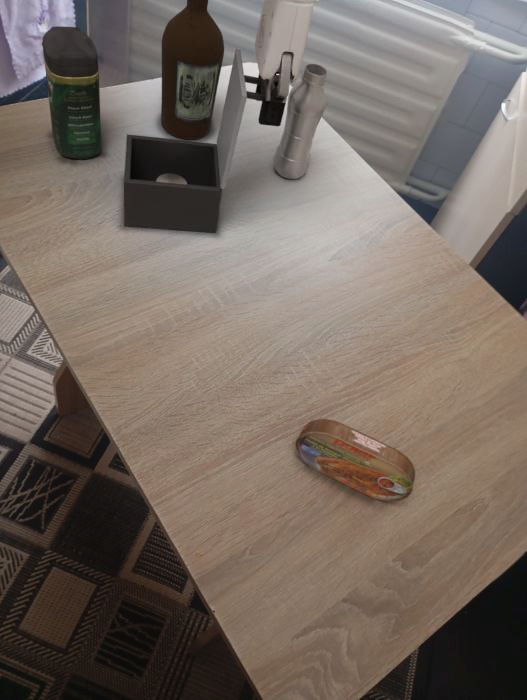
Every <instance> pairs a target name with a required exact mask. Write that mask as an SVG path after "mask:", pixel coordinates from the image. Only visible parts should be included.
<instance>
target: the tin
mask: <svg viewBox="0 0 527 700" xmlns="http://www.w3.org/2000/svg"><path fill="white" fill-rule="evenodd" d="M294 445H295V446H294V447H295V451H296V453H297V455H298V457H299V458H300V459H301V460H302V462H303V463H305V465H307V466H308V467H310V468H311V469H313V470H314V471H316V472H318V473H319V474H323V475H325V476H327V477H328V478H330V479H332V480H334V481H337V482H339V483H341V484H343V485H345V486H347V487H349V488H351V489H353V490H354V491H357V492H359V493H361V494H363V495H365V496H367V497H369V498H371V499H375V500H378V501H383V502H399V501H402V500H405V499H407V498H408V497H410V496H411V494H412V493H413V487H414V482H415V478H416V477H415V476H416V469H415V466H414V464H413V462H412V461H411V459H410V458H409V457H408V456H407V455H405V454H404V453H402V452H401V451H400V450H398V449H396V448H395V447H392V446H390V445H388V444H386V443H385V442H384V443H383V442H382V441H380V440H378V439H376V438H374V437H372V436H369V435H367V434H366V433H363V432H361V431H359V430H357V429H355V428H353V427H350V426H348V425H346V424H344V423H342V422H340V421H337V420H333V419H327V418H318V419H313V420H310V421H308V422H307V423H306V424H305V425H304V426H303V427H302V430H301V431H300V434H299V436H298V437H297V439H296V441H295V444H294Z"/></svg>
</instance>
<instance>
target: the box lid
mask: <svg viewBox="0 0 527 700" xmlns="http://www.w3.org/2000/svg"><path fill="white" fill-rule="evenodd" d="M242 57H243V56H242V50H241V49H239V48H235V51H234V57H233V59H232V65H231V70H230V75H229V80H228V84H227V90H226V94H225V99H224V104H223V109H222V114H221V119H220V124H219V128H218V133H217V138H216V144H217V151H218V163H219V175H220V188H221V189H222V190H225V189H226V186H227V182H228V178H229V174H230V170H231V166H232V161H233V158H234V153H235V149H236V145H237V141H238V136H239V132H240V128H241V124H242V119H243V115H244V111H245V107H246V102H247V99H249V100H253V101H257V100H259V101H258V102H262V100H263V96H266V90H267V83H268V79H266V80H264V79H262V77H261V78H258V76H252V75H247V74H245V73H244V71H245V70H244V65H243V58H242ZM247 83H248V84H252V85H256V86H257V85H260V87H261V93H262V94H260V93H255V92H254V91H249V90H247V86H246V84H247ZM274 87H275V85H274V82H273V86H272V90H273V88H274Z"/></svg>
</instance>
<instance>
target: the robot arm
mask: <svg viewBox="0 0 527 700" xmlns="http://www.w3.org/2000/svg"><path fill="white" fill-rule="evenodd" d="M319 1H321V0H263V2H262V8H261V12H260V13H261V14H260V15H259V16H260V17H259V22H258V26H257V30H256V35H255V41H254V51H255V57H256V62H257V68H258V75H257V78H261V77H262V79H264V80H266V79H268V83H267V90H266V96H263V100H262V101H261V104H260V110H259V115H258V124H259V125H261V126H269V127H270V126H272V127H280V126H281V125H282V121H283V116H284V112H285V108H286V105H287V104H286V103H287V101H288V95H289V93H290V84H294V83H295V82H296V81H297V80H298V77H299V74H300V72H301V71H300V70H301V67H302V63H303V59H304V55H305V54H304V53H305V50H306V45H307V41H308V37H309V32H310V26H311V23H312V17H313V16H312V15H313V10H314V5H315V3H318V2H319ZM273 82H274V85H275V87H274V88H273V90H272V86H273ZM254 93H260V94H262V93H261V87H260V85H257V84H256V87H255V92H254ZM256 101H257V102H260V101H259V100H256Z"/></svg>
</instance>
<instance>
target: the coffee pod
mask: <svg viewBox="0 0 527 700" xmlns="http://www.w3.org/2000/svg"><path fill="white" fill-rule="evenodd" d="M156 182H165V183H176V184H187V182H186V180H185V179H184V178H183V177H181V176H179V175H177V174H172V173H167V174H162V175H160V176H159V177H158V178H157V180H156Z"/></svg>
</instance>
